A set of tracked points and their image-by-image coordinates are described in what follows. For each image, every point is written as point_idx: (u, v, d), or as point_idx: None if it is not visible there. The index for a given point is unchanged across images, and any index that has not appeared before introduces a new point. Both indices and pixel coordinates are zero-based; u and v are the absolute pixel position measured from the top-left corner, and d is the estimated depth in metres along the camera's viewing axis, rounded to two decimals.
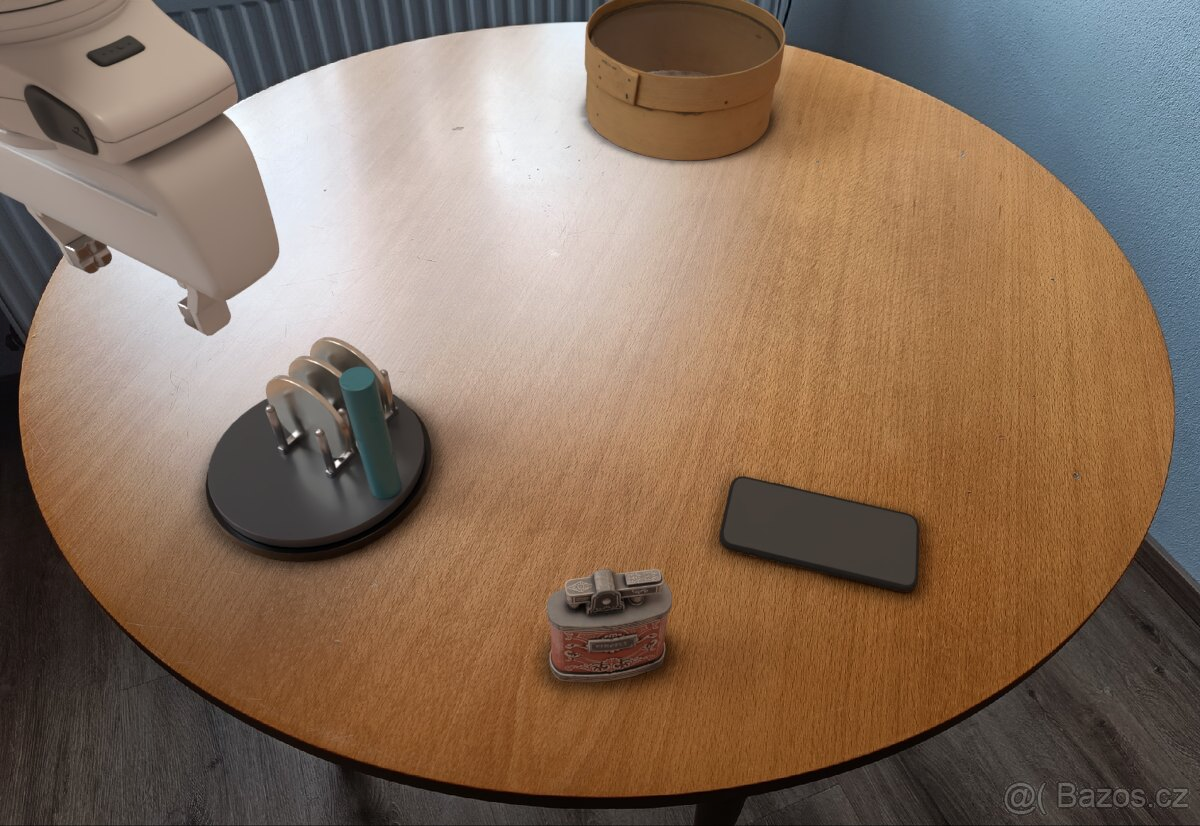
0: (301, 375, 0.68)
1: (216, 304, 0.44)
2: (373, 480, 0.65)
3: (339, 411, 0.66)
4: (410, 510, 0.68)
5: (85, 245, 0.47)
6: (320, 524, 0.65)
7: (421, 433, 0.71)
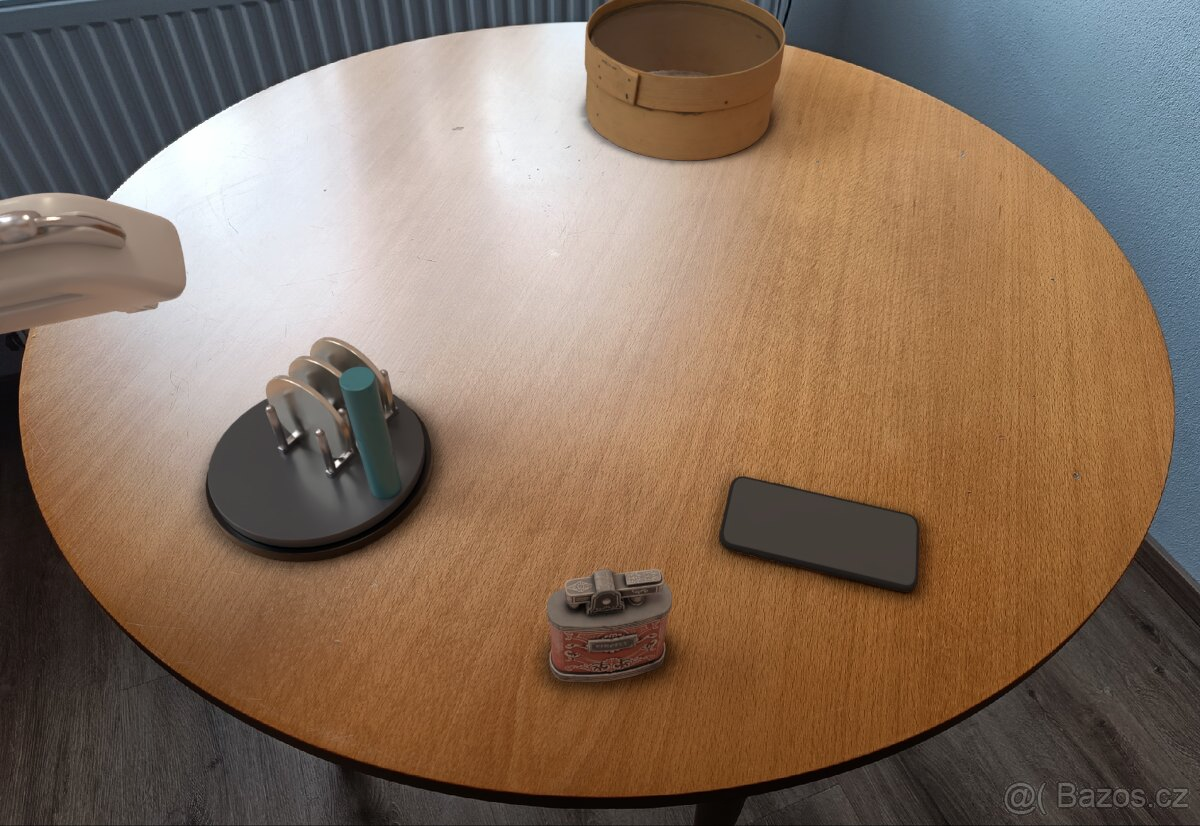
0: (301, 375, 0.68)
1: None
2: (373, 480, 0.65)
3: (339, 411, 0.66)
4: (410, 510, 0.68)
5: None
6: (320, 524, 0.65)
7: (421, 433, 0.71)
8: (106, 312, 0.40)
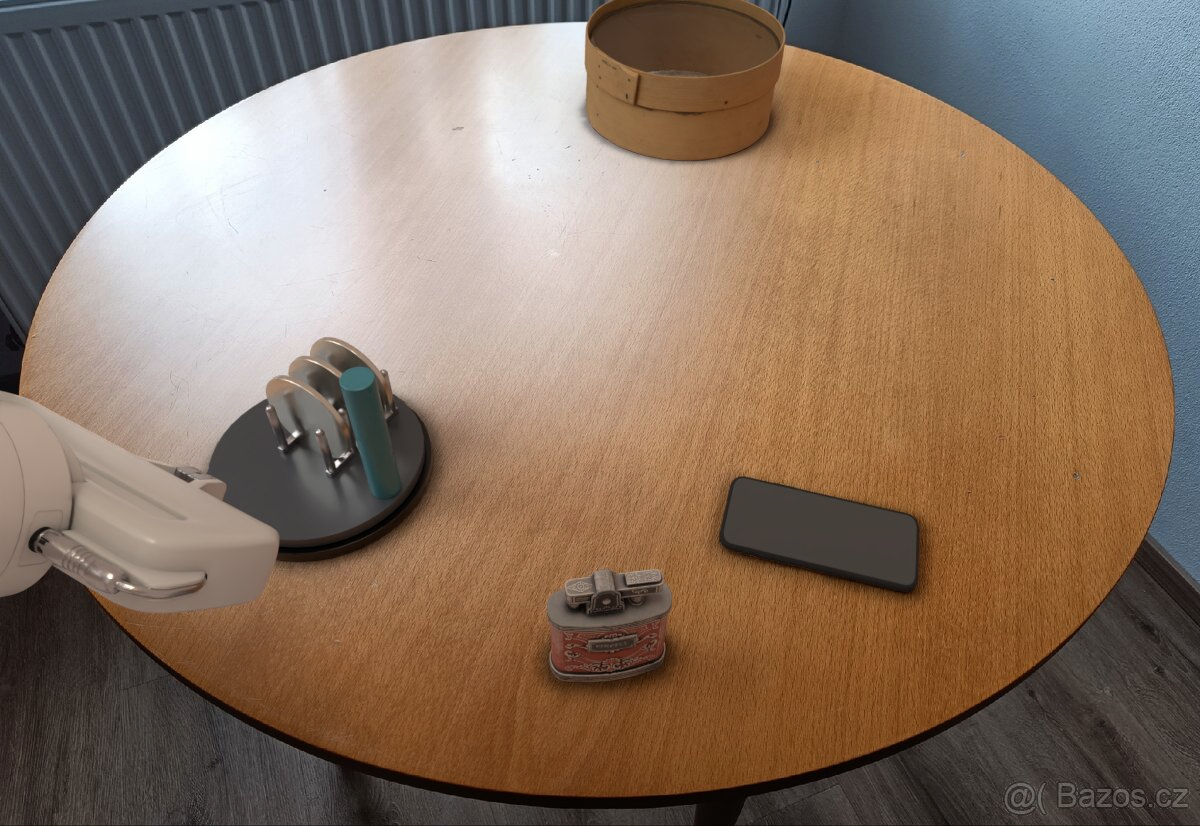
0: (301, 375, 0.68)
1: None
2: (373, 480, 0.65)
3: (339, 411, 0.66)
4: (410, 510, 0.68)
5: None
6: (320, 524, 0.65)
7: (421, 433, 0.71)
8: None
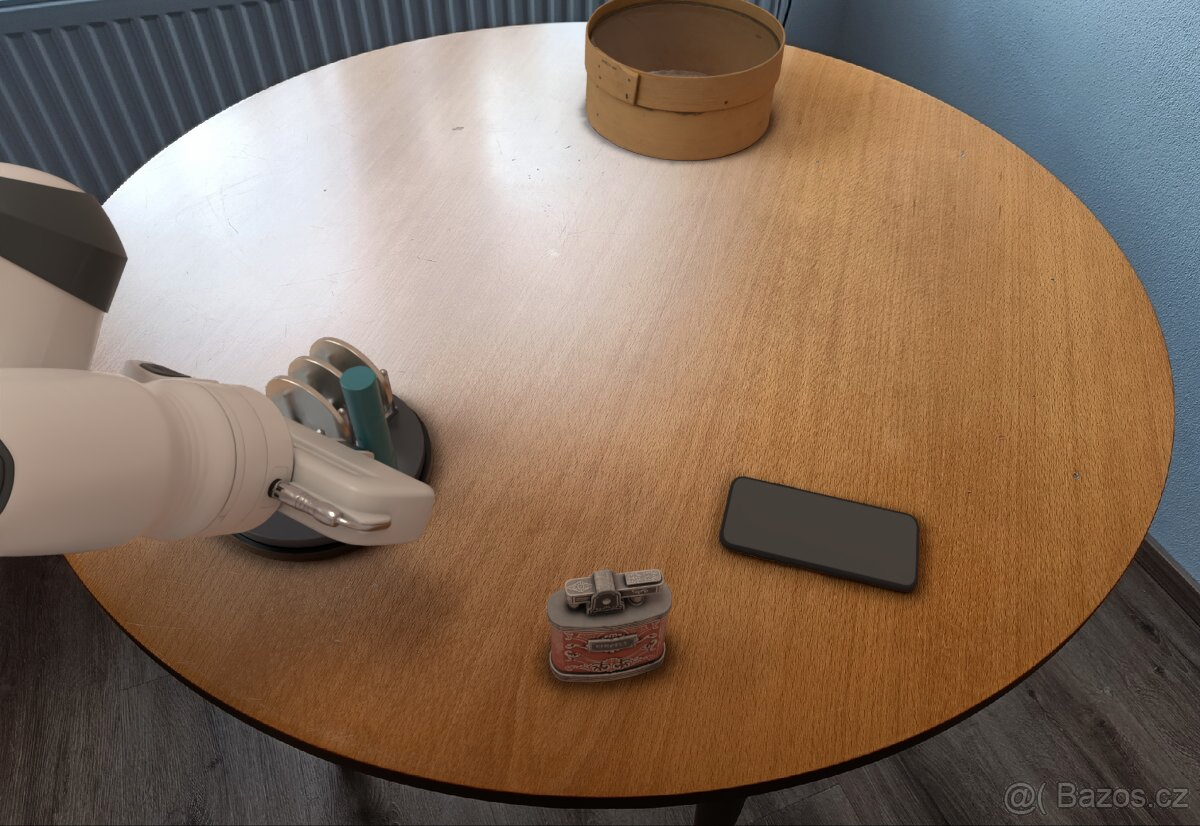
0: (301, 375, 0.68)
1: None
2: None
3: (339, 411, 0.66)
4: None
5: None
6: None
7: (421, 432, 0.71)
8: None
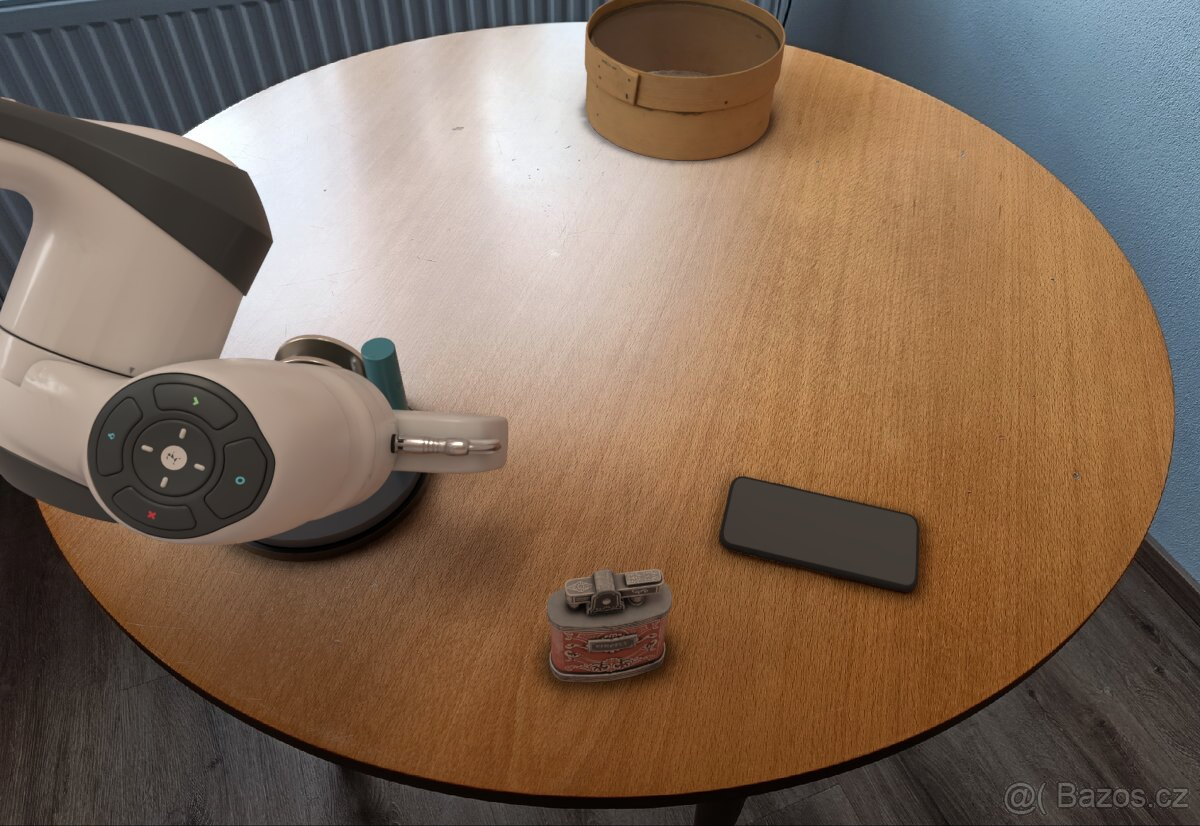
0: None
1: None
2: None
3: None
4: (410, 510, 0.68)
5: None
6: (363, 508, 0.66)
7: None
8: None
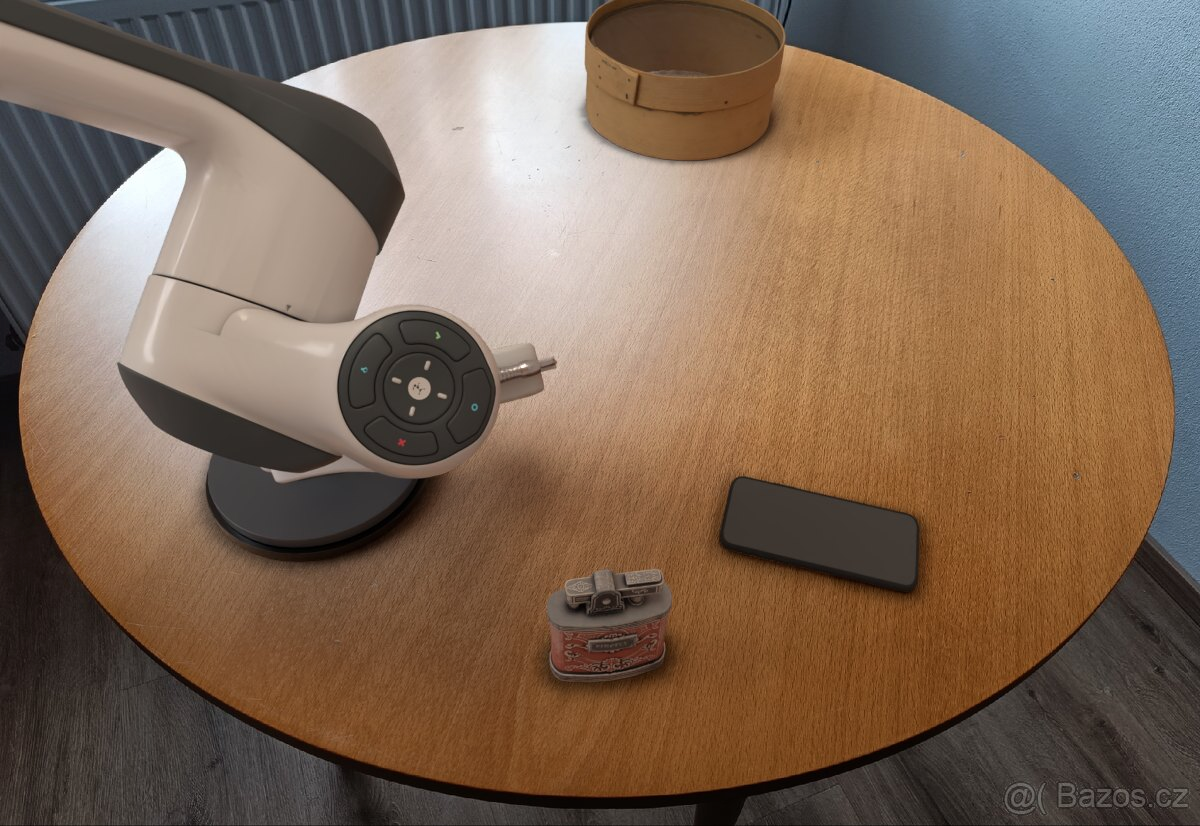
0: None
1: None
2: None
3: None
4: (410, 510, 0.68)
5: None
6: (392, 484, 0.67)
7: None
8: None
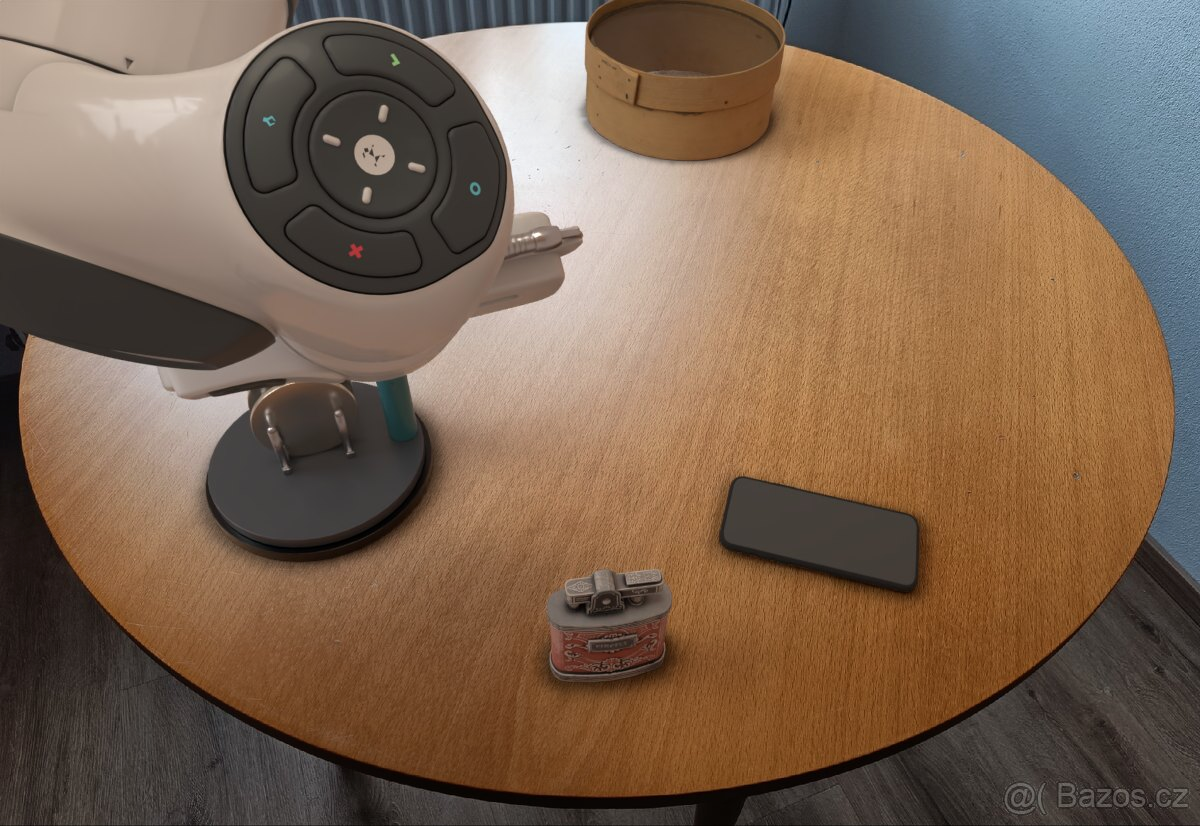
0: (267, 391, 0.67)
1: None
2: (405, 422, 0.69)
3: None
4: (410, 510, 0.68)
5: None
6: (392, 484, 0.67)
7: (376, 387, 0.75)
8: (483, 314, 0.46)
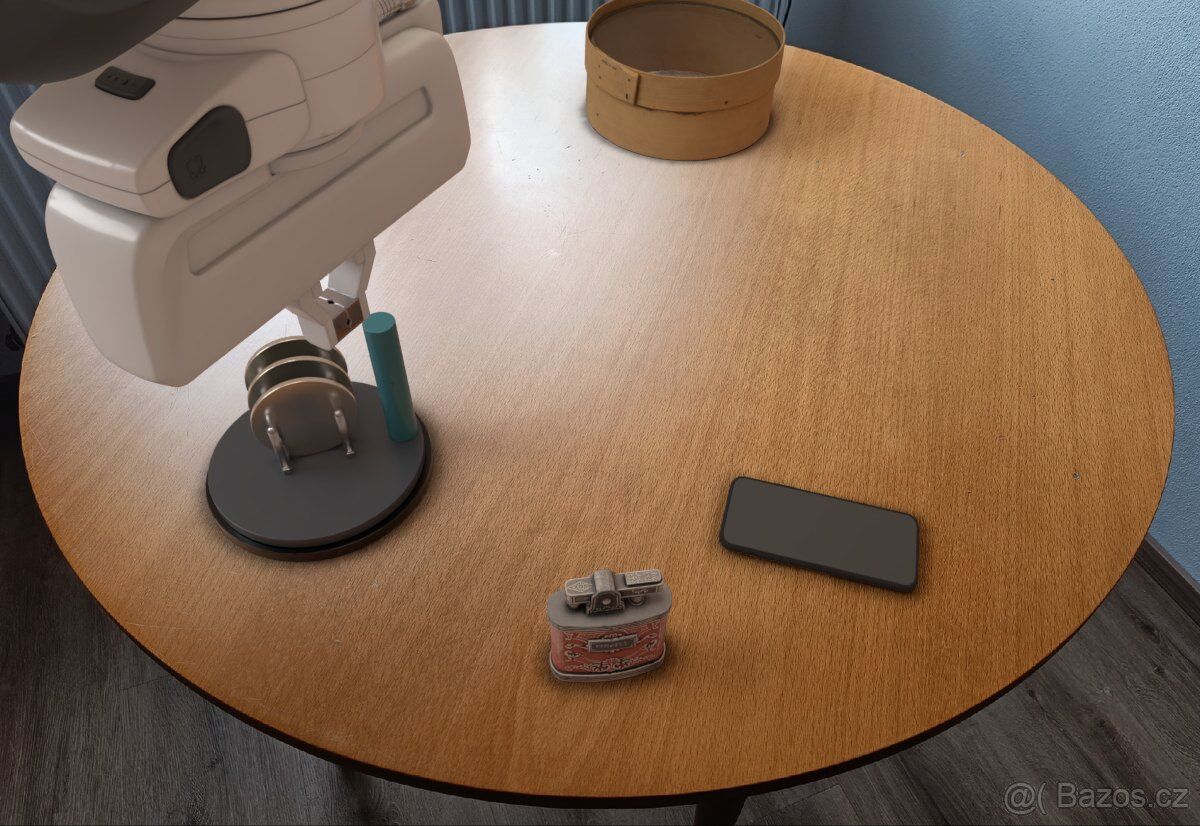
0: (267, 391, 0.67)
1: (316, 325, 0.40)
2: (405, 422, 0.69)
3: None
4: (410, 510, 0.68)
5: (328, 301, 0.41)
6: (392, 484, 0.67)
7: (376, 387, 0.75)
8: (426, 189, 0.41)
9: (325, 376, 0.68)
